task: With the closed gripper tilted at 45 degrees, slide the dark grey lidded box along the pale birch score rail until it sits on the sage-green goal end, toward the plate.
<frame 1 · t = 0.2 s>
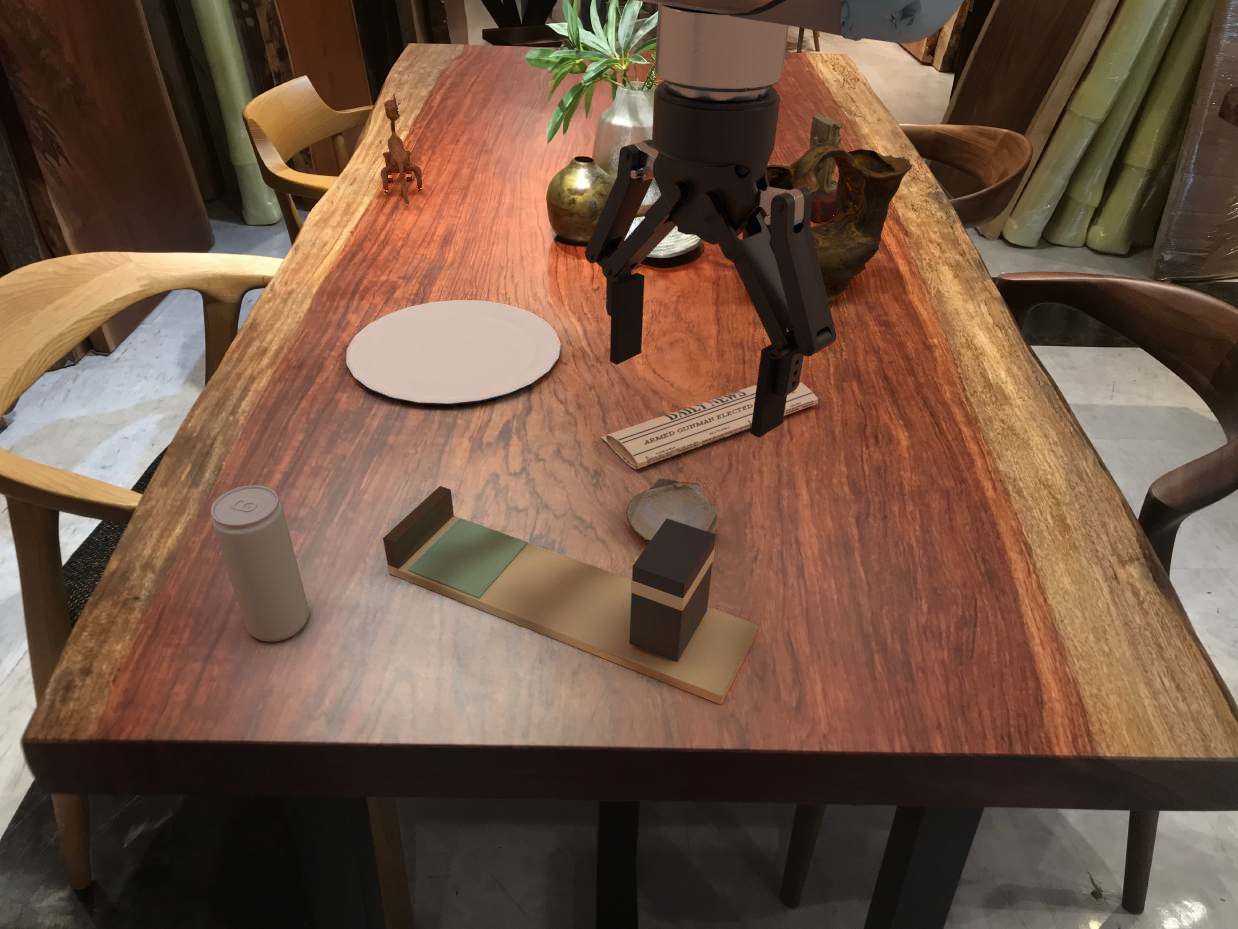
hand: (692, 391, 65), 18 cm above the table, tool pointing down, fingers open, 13 cm apart
sculpture: (817, 212, 147), on the table
dark grey lidded box: (671, 589, 67), point 5 cm above the table, slide at -9.0 cm
seashell: (672, 528, 81), on the table
beverage can: (279, 624, 71), on the table
pottery vessel: (807, 293, 122), on the table
score rail: (567, 602, 73), on the table
newspaper: (711, 424, 95), on the table
plate: (455, 355, 106), on the table
brown legged figure: (403, 193, 150), on the table
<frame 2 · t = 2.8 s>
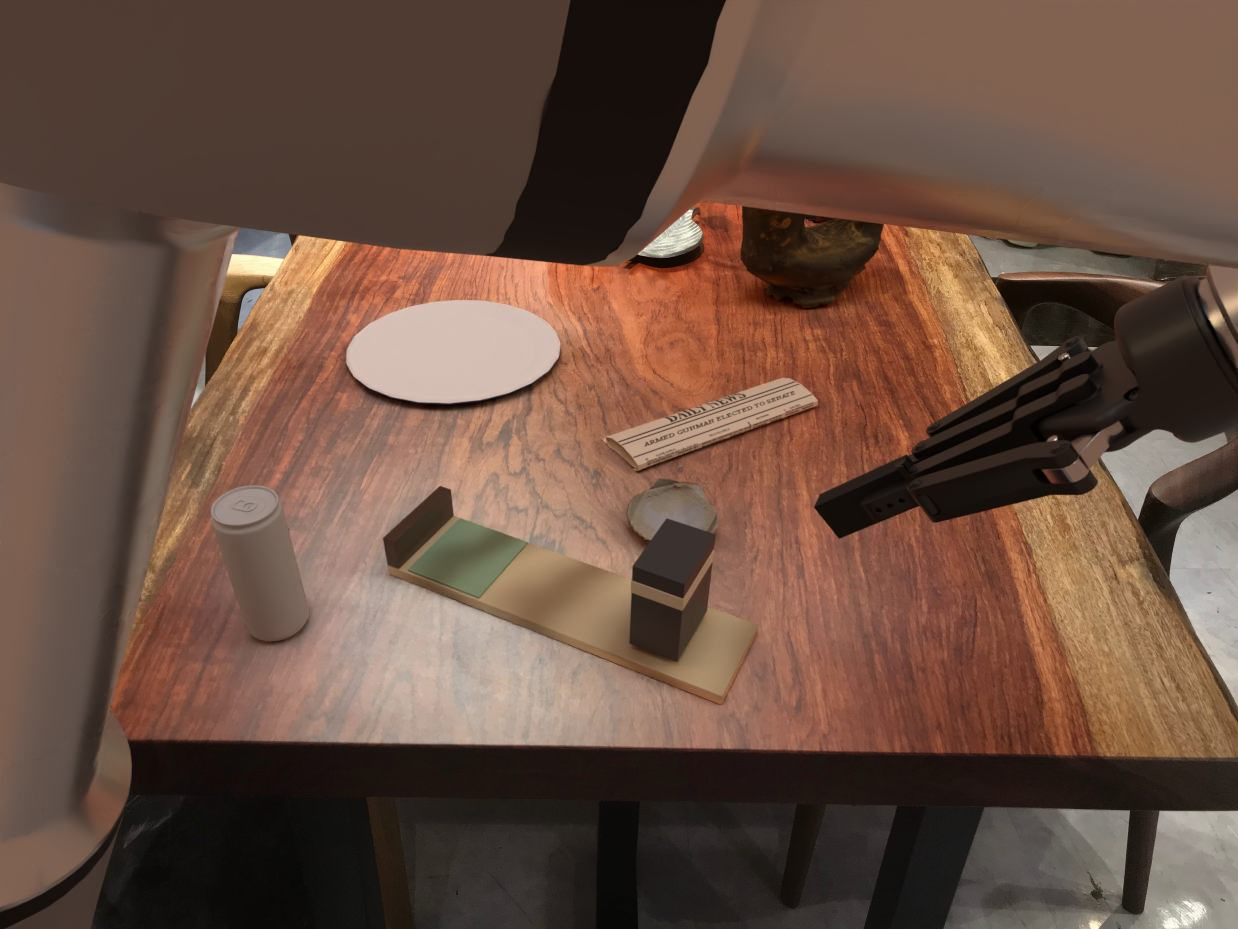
hand: (829, 516, 57), 16 cm above the table, tool tilted 45°, fingers closed
nothing on the table moved.
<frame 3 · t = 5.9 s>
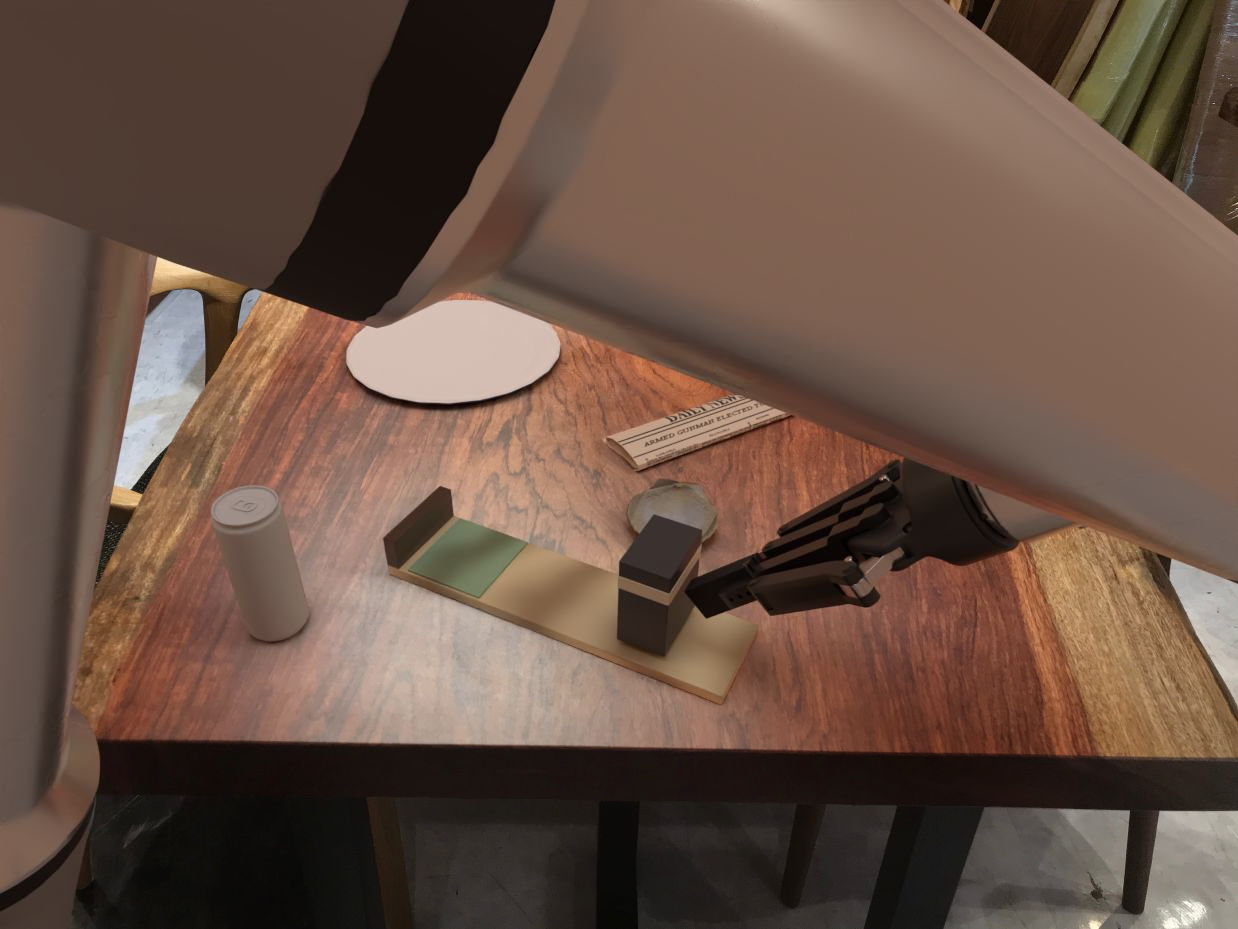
hand: (699, 598, 66), 6 cm above the table, tool tilted 45°, fingers closed
dark grey lidded box: (659, 585, 67), point 5 cm above the table, slide at -7.9 cm, touching gripper
everything else where it was.
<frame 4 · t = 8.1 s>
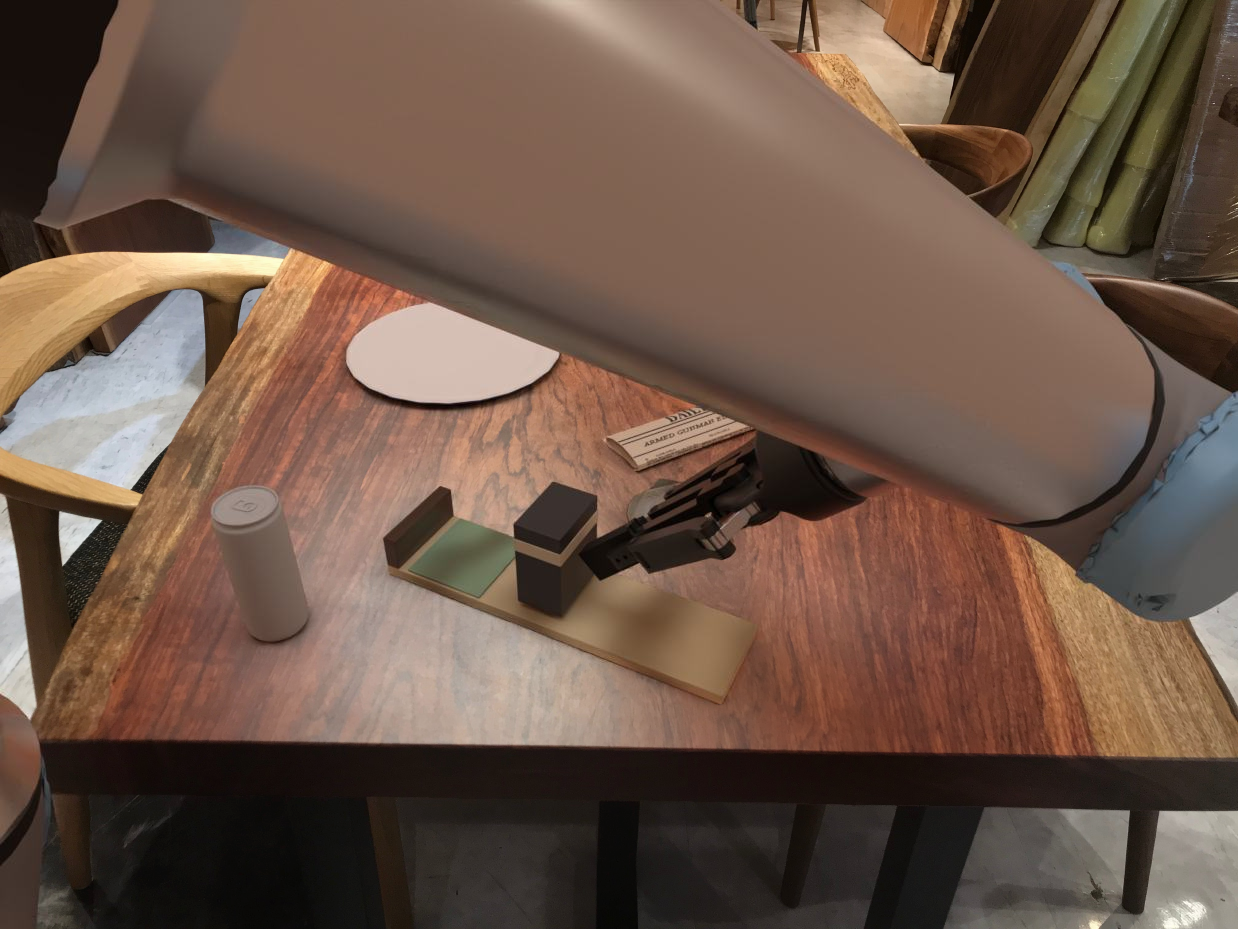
hand: (593, 562, 69), 5 cm above the table, tool tilted 45°, fingers closed
dark grey lidded box: (557, 548, 70), point 5 cm above the table, slide at 0.8 cm, touching gripper
everything else where it was.
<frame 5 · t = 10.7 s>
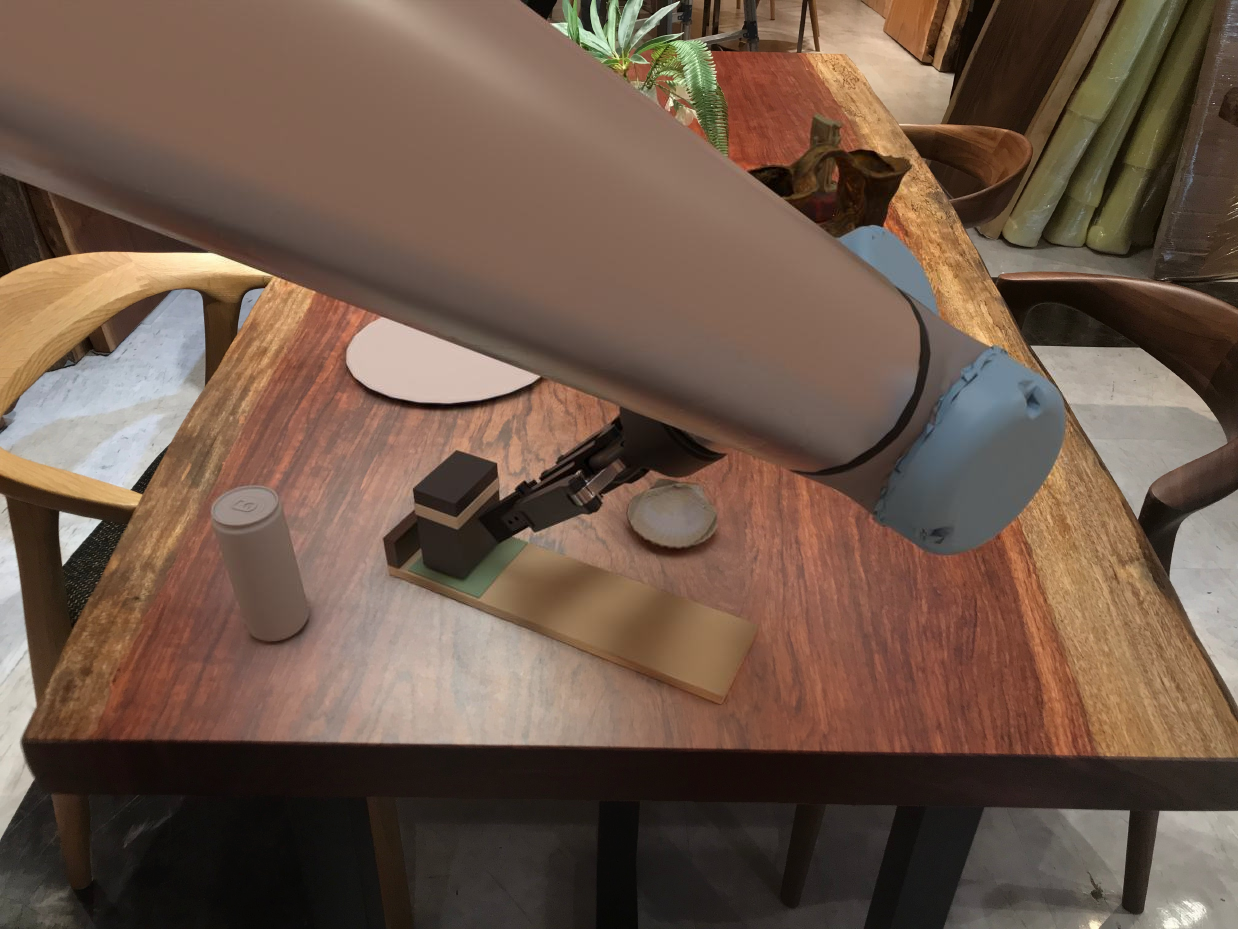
hand: (493, 525, 72), 6 cm above the table, tool tilted 45°, fingers closed
dark grey lidded box: (459, 514, 73), point 5 cm above the table, slide at 10.0 cm, touching gripper
everything else where it was.
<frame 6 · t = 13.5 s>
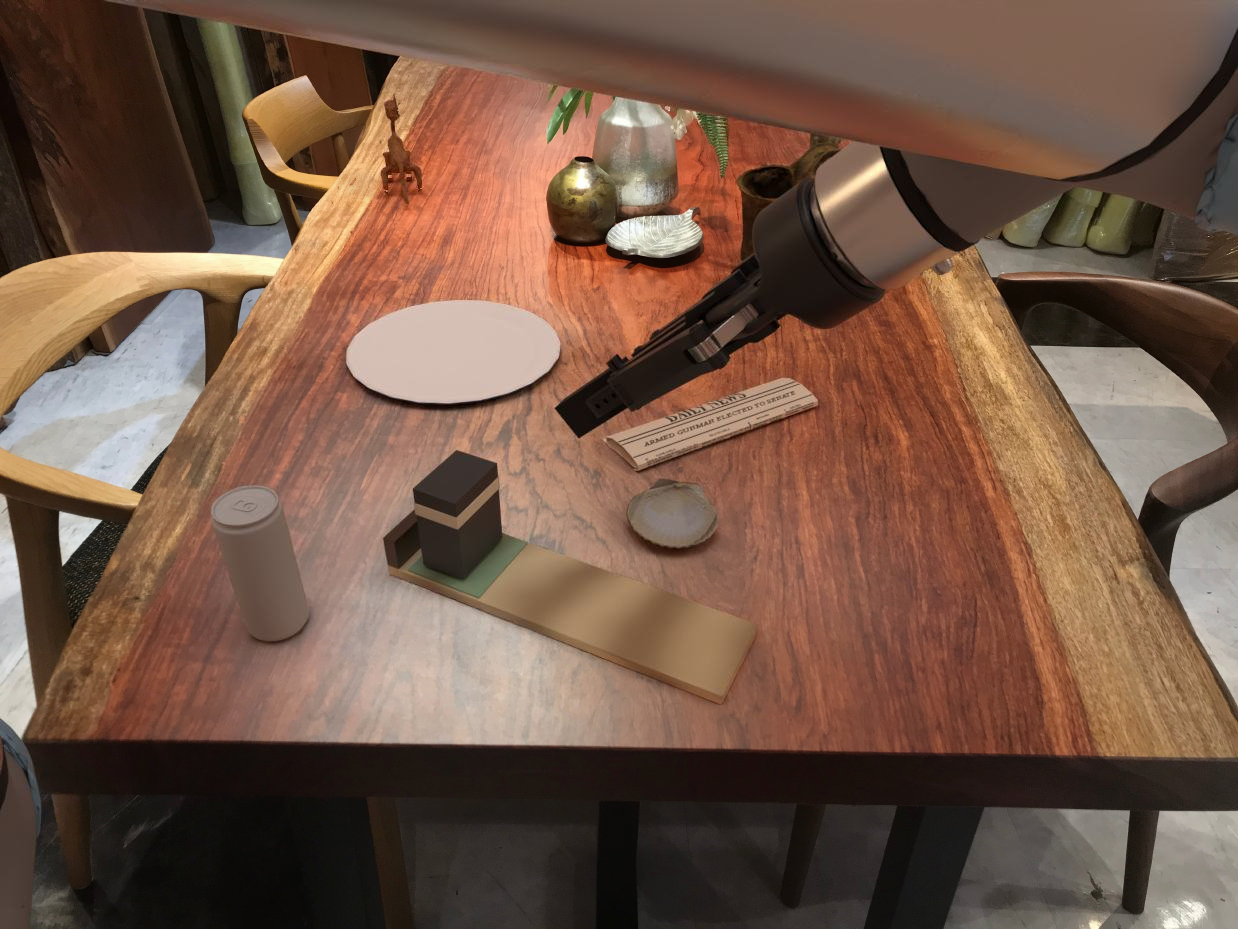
hand: (571, 418, 62), 18 cm above the table, tool tilted 45°, fingers closed
dark grey lidded box: (459, 514, 73), point 5 cm above the table, slide at 10.0 cm
everything else where it was.
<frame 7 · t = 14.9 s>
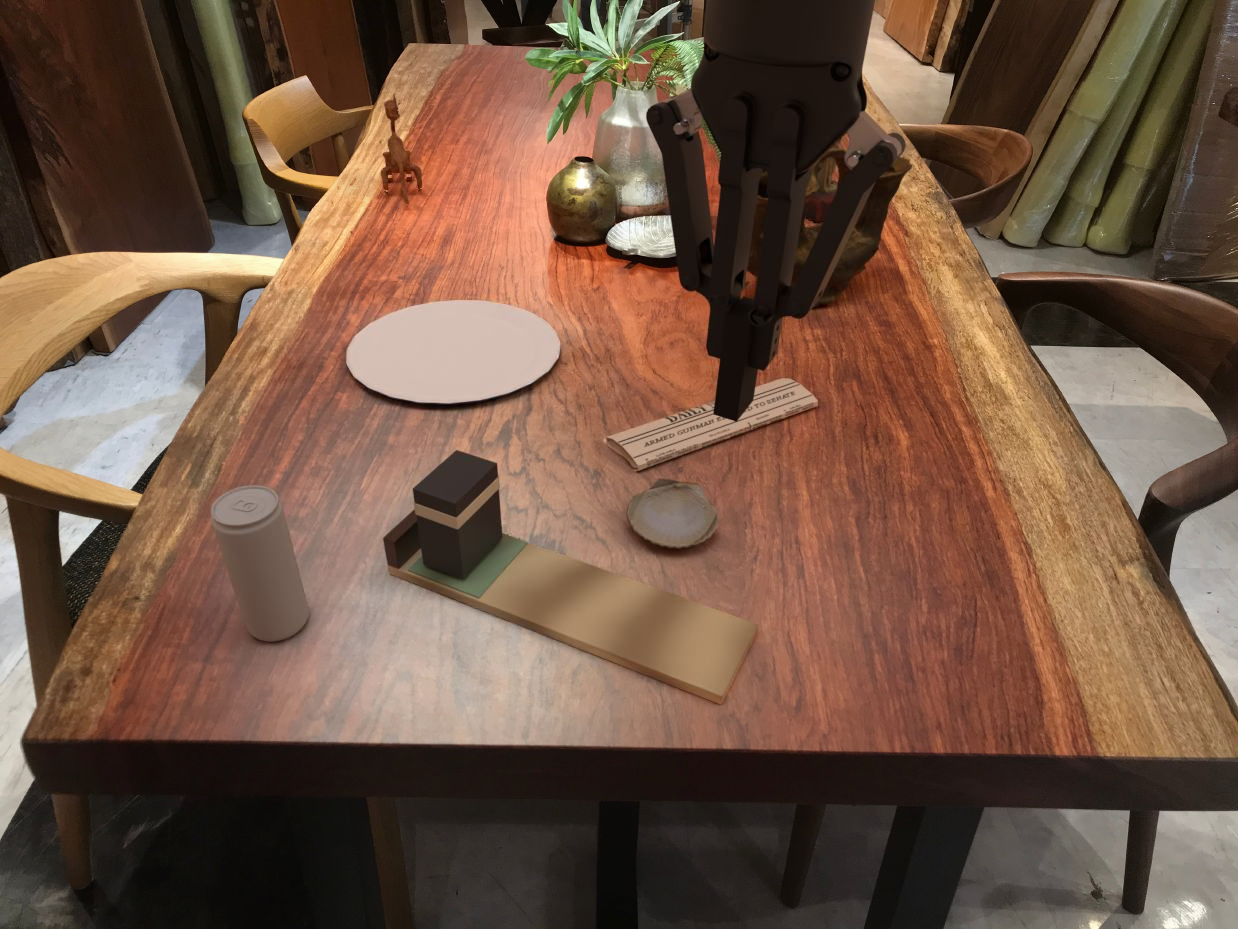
hand: (733, 407, 53), 24 cm above the table, tool pointing down, fingers closed
nothing on the table moved.
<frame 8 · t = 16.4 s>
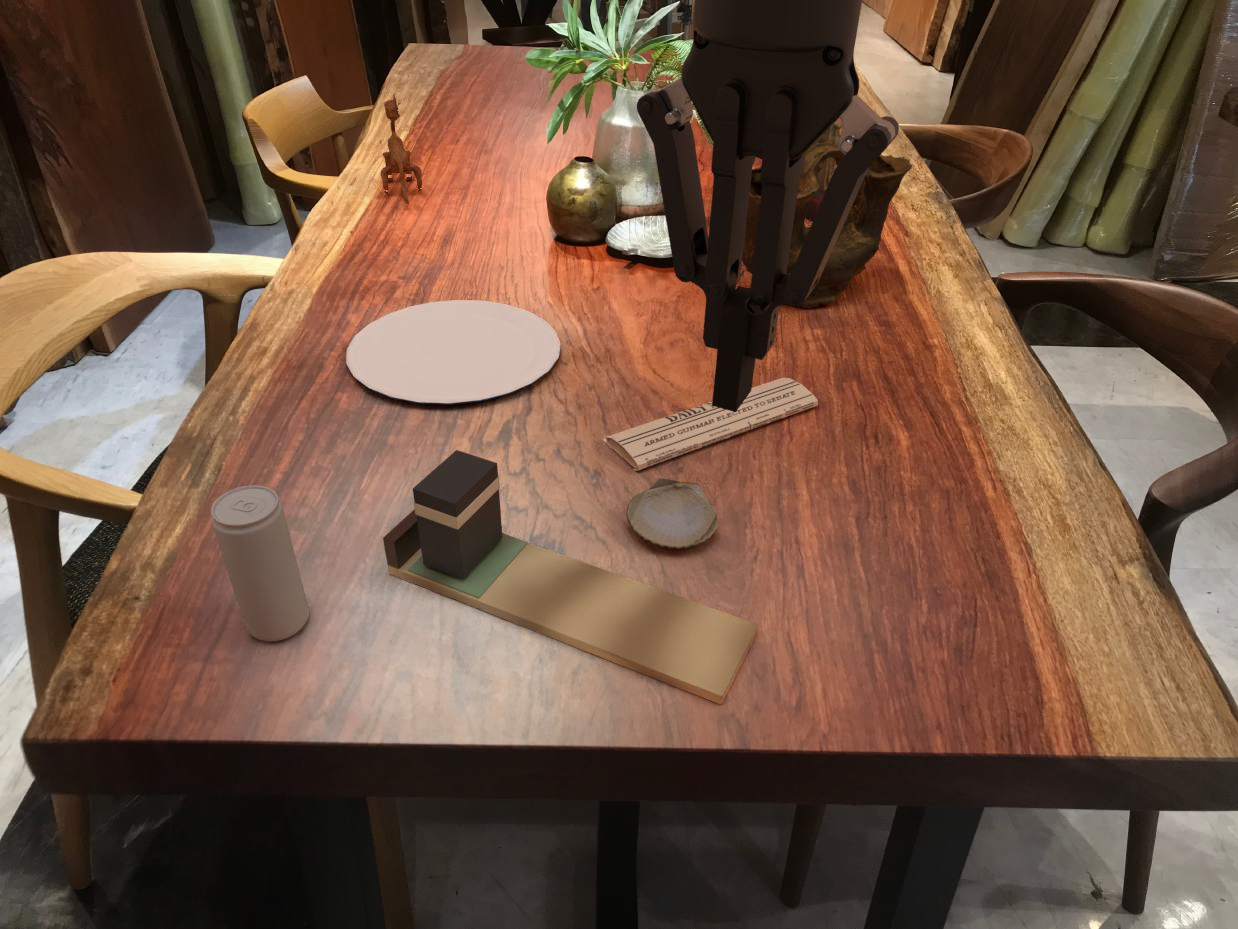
hand: (731, 397, 53), 24 cm above the table, tool pointing down, fingers closed
nothing on the table moved.
at the end: dark grey lidded box slide at 10.0 cm; dark grey lidded box 37.0 cm from the plate (horizontally) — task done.
